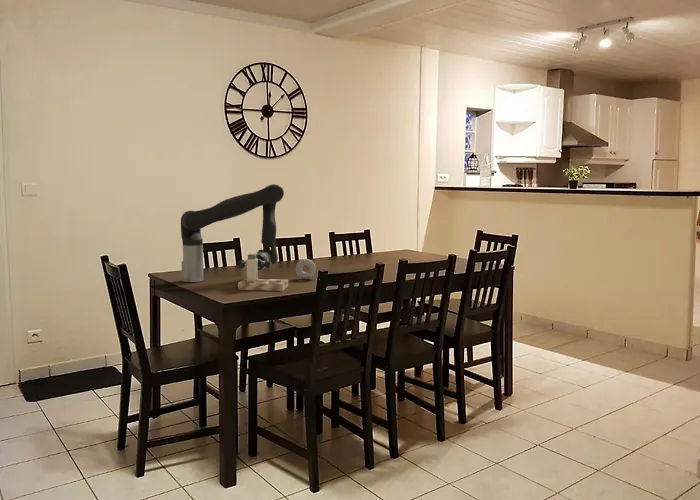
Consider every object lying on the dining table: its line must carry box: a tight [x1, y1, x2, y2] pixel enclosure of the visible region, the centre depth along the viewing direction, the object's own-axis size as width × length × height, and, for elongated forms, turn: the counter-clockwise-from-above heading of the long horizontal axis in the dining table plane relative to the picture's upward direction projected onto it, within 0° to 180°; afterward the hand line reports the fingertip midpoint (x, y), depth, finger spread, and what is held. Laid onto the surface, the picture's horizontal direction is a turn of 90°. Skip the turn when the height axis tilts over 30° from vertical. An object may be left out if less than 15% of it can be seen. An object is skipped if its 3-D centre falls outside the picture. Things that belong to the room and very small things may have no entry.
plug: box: [246, 253, 259, 282], centre depth 281 cm, size 4×4×15 cm
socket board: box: [237, 278, 289, 292], centre depth 281 cm, size 20×12×3 cm, turn 85°
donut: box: [295, 258, 317, 280], centre depth 306 cm, size 10×4×10 cm, turn 86°
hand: (251, 266), depth 279 cm, fingers open, 8 cm apart
